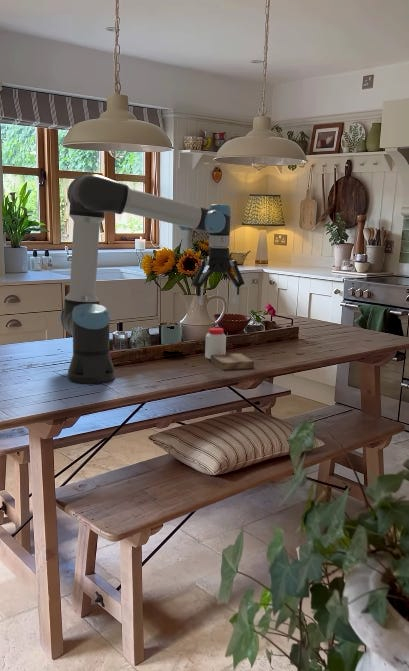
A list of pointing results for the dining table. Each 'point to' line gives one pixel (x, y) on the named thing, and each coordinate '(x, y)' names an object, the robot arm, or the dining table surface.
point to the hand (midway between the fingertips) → (217, 304)
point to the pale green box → (170, 334)
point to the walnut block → (232, 361)
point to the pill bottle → (215, 342)
